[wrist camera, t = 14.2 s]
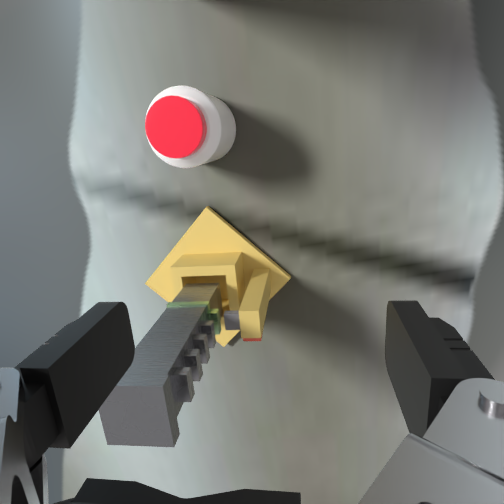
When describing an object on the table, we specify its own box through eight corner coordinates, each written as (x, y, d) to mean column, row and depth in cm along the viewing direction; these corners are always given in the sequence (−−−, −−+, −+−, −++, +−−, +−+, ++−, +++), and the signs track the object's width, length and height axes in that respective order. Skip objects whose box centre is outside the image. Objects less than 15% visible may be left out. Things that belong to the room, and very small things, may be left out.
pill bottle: (160, 129, 45) (117, 128, 34) (202, 79, 42) (169, 61, 32) (206, 175, 46) (177, 188, 35) (249, 128, 43) (232, 127, 33)
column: (187, 318, 44) (107, 444, 26) (181, 279, 43) (92, 385, 25) (231, 317, 44) (181, 447, 25) (227, 278, 42) (169, 386, 24)
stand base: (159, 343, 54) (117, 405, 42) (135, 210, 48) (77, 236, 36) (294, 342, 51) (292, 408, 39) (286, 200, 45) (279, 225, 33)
